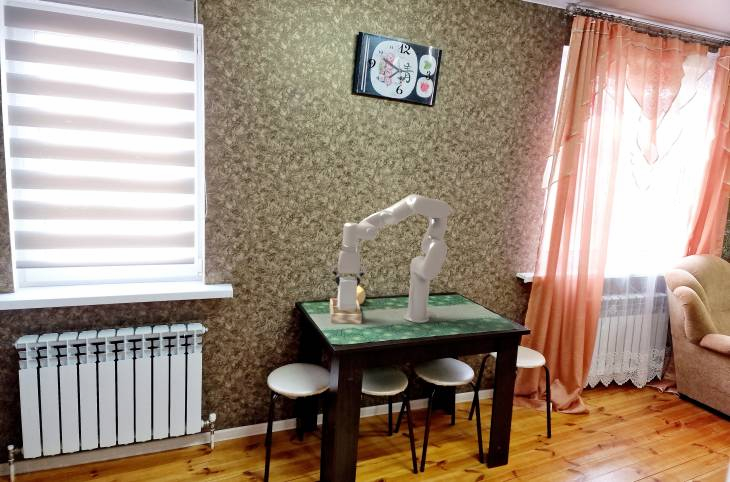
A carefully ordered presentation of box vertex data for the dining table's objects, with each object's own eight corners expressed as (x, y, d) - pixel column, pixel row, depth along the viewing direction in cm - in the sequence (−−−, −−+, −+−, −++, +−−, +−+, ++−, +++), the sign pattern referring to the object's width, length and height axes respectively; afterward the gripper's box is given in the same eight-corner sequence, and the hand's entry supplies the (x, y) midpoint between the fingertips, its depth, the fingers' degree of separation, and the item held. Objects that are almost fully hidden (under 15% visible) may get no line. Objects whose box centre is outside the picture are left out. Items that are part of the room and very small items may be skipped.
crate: (356, 308, 243) (357, 299, 242) (361, 325, 219) (361, 315, 218) (329, 307, 241) (330, 298, 240) (331, 324, 217) (331, 314, 217)
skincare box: (353, 307, 227) (355, 277, 224) (355, 311, 221) (358, 280, 219) (336, 306, 225) (338, 276, 223) (338, 311, 219) (340, 280, 217)
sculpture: (338, 304, 247) (340, 285, 245) (348, 299, 258) (349, 280, 256) (358, 309, 243) (360, 288, 241) (367, 303, 254) (369, 283, 252)
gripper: (367, 248, 223) (365, 284, 226) (331, 246, 221) (328, 282, 224) (369, 251, 215) (366, 288, 218) (331, 249, 213) (329, 286, 216)
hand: (347, 285), depth 221 cm, fingers closed on skincare box, 8 cm apart
